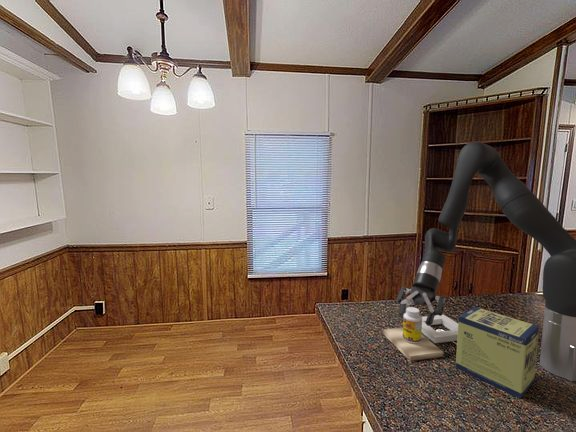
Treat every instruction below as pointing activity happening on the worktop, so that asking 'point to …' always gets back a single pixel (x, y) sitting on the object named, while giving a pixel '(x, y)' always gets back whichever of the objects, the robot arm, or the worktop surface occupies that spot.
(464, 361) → the protein box
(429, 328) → the collar stand
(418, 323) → the supplement bottle
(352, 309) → the worktop surface
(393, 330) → the birch board
